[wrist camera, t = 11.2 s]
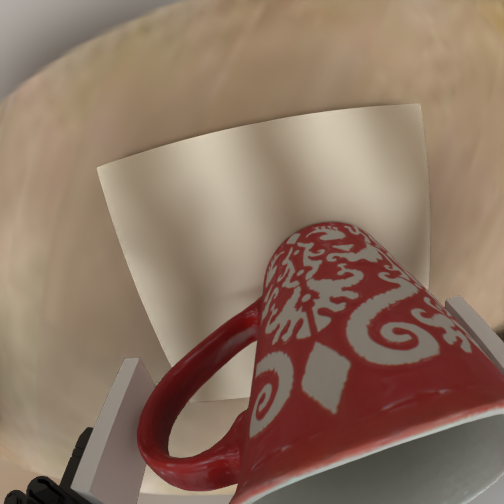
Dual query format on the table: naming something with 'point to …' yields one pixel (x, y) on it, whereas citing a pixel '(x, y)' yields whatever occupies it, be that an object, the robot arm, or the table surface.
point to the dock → (261, 214)
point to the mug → (340, 388)
